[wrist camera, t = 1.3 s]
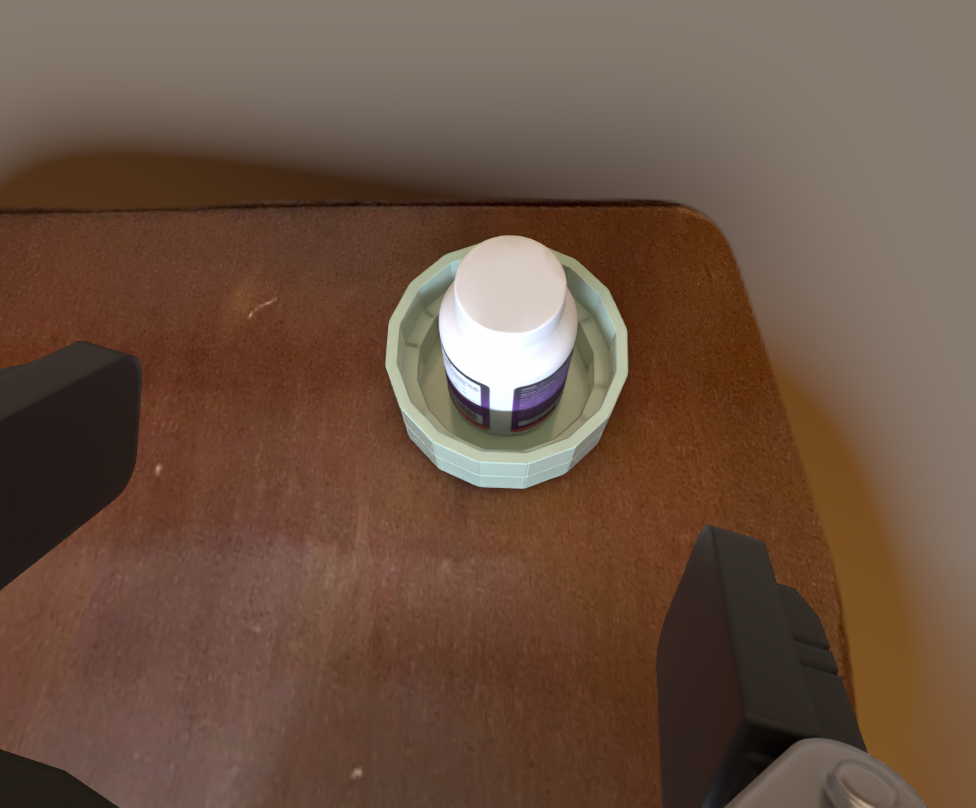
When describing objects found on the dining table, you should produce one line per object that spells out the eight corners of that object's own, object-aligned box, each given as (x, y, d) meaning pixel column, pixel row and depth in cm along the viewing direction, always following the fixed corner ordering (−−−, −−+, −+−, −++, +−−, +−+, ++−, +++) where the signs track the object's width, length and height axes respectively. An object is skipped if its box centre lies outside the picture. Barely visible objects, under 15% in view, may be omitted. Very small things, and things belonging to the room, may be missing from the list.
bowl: (611, 292, 39) (626, 245, 35) (613, 494, 36) (630, 468, 32) (406, 285, 39) (396, 236, 35) (389, 485, 36) (376, 458, 32)
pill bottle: (565, 332, 38) (589, 220, 29) (561, 441, 36) (587, 359, 27) (451, 326, 38) (439, 213, 29) (442, 434, 36) (427, 350, 27)
